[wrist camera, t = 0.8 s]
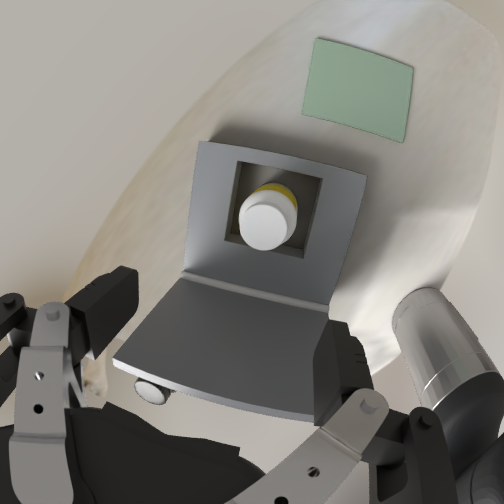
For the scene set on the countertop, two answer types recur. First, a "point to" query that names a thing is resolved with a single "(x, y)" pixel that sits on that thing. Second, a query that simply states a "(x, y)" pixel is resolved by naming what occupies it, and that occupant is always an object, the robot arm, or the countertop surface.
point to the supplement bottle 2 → (268, 216)
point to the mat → (358, 89)
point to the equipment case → (247, 294)
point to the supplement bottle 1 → (152, 391)
